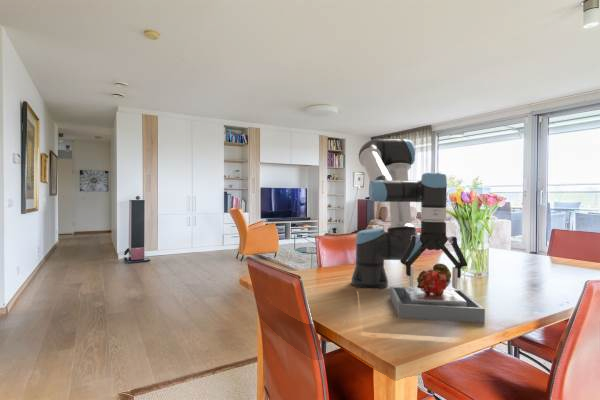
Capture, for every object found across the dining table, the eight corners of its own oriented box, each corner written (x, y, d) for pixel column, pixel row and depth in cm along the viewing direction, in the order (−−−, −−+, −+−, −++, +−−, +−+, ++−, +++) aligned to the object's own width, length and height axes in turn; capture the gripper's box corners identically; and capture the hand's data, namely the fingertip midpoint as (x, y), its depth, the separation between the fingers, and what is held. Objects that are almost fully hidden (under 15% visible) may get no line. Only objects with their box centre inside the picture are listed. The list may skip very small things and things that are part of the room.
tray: (398, 321, 101) (398, 304, 101) (390, 300, 121) (390, 286, 120) (484, 326, 97) (484, 308, 97) (461, 304, 117) (461, 290, 117)
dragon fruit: (415, 300, 107) (442, 301, 112) (434, 289, 101) (461, 291, 106) (406, 275, 112) (432, 277, 117) (424, 263, 106) (451, 266, 111)
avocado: (458, 280, 152) (459, 262, 152) (443, 284, 144) (444, 265, 144) (441, 276, 159) (441, 259, 159) (426, 280, 151) (426, 262, 151)
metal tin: (410, 315, 103) (410, 298, 103) (403, 301, 117) (403, 286, 117) (466, 318, 101) (466, 301, 101) (452, 303, 115) (452, 288, 115)
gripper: (395, 221, 107) (394, 288, 107) (478, 222, 103) (478, 291, 103) (392, 219, 114) (391, 282, 114) (470, 220, 111) (469, 285, 111)
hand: (432, 287), depth 109 cm, fingers open, 13 cm apart
